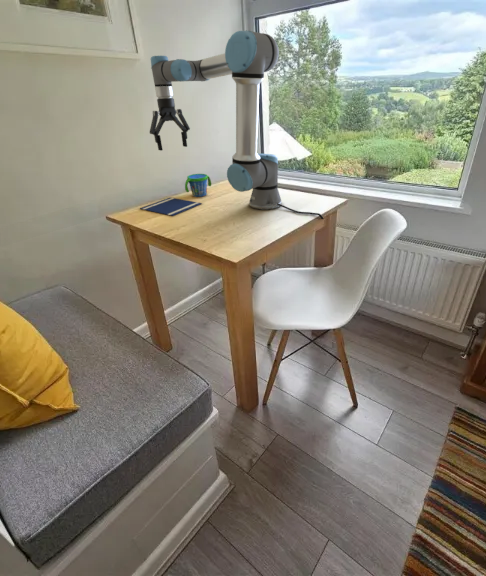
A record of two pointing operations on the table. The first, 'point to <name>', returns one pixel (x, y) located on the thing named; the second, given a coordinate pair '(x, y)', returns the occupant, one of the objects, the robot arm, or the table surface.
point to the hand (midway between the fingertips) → (173, 148)
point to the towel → (171, 206)
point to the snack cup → (198, 184)
